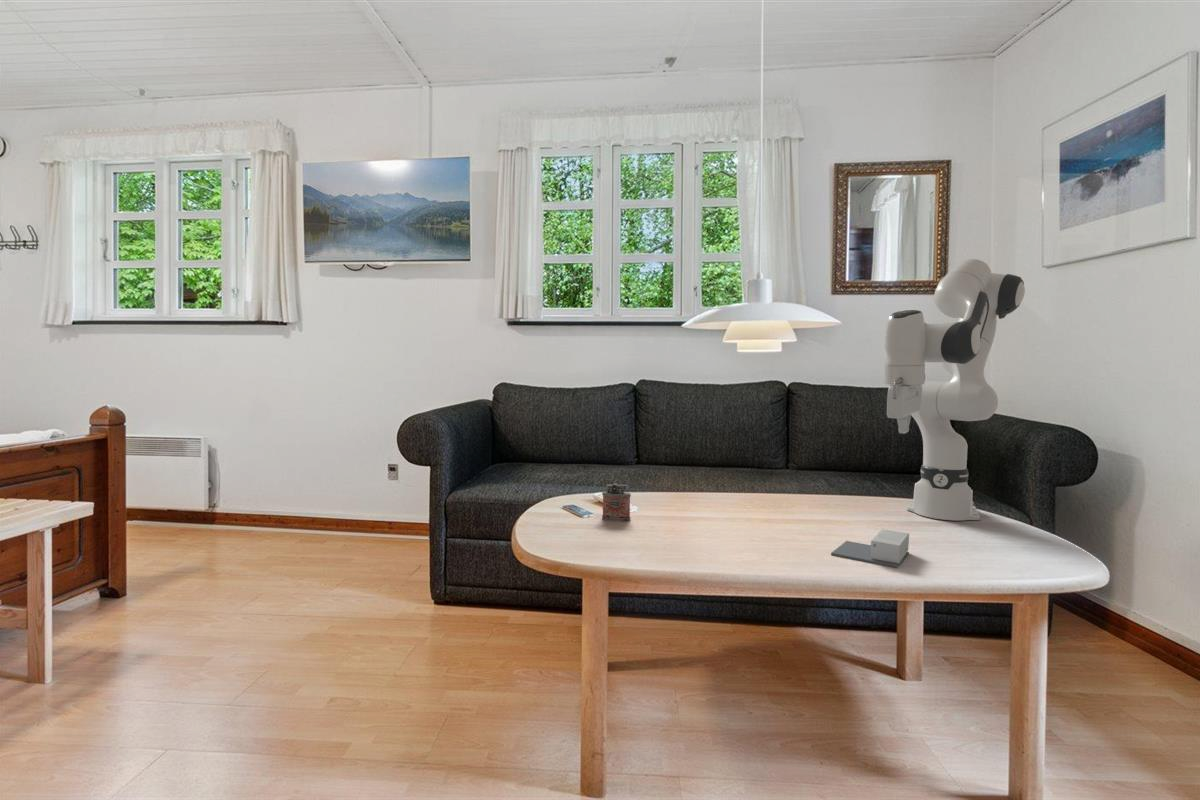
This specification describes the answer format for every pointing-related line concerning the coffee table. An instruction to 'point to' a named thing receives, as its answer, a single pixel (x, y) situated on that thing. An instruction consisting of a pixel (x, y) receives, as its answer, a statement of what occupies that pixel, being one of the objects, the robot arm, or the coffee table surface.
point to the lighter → (616, 503)
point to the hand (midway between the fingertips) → (903, 432)
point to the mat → (861, 553)
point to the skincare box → (889, 546)
